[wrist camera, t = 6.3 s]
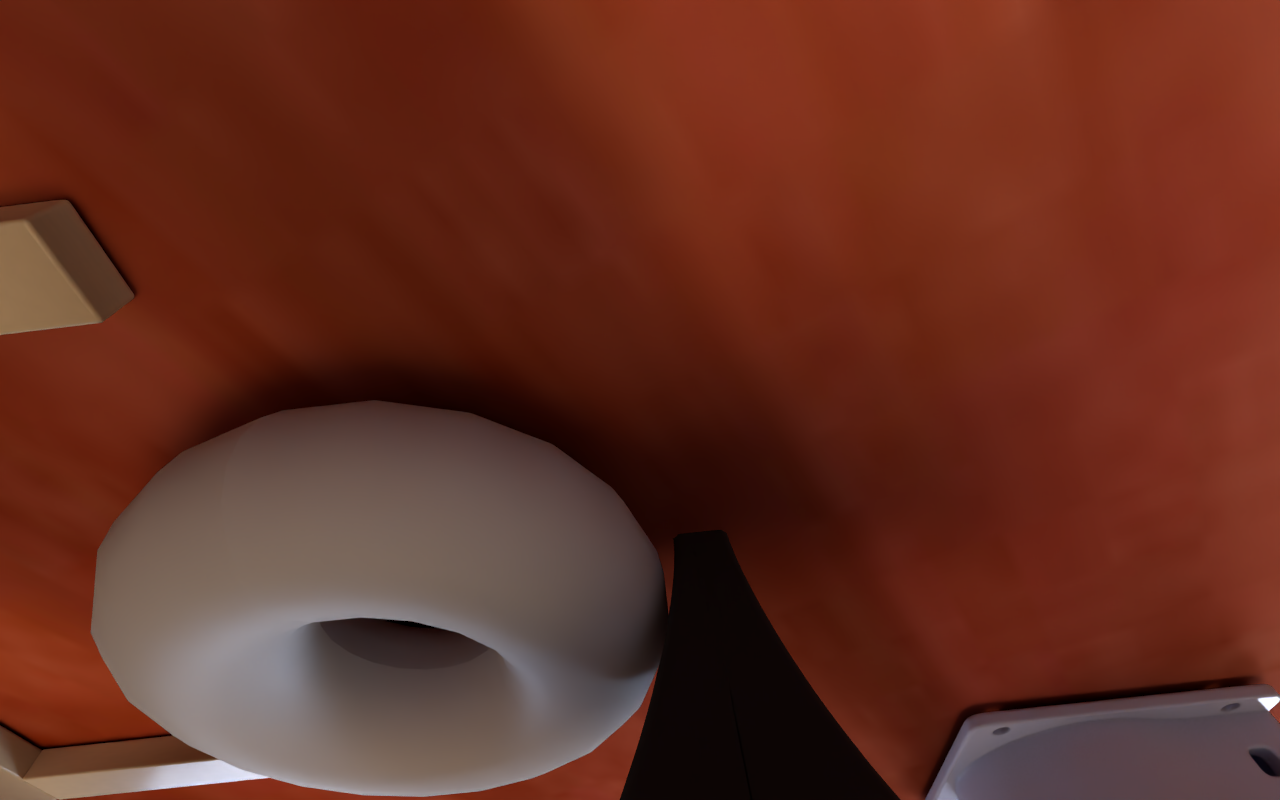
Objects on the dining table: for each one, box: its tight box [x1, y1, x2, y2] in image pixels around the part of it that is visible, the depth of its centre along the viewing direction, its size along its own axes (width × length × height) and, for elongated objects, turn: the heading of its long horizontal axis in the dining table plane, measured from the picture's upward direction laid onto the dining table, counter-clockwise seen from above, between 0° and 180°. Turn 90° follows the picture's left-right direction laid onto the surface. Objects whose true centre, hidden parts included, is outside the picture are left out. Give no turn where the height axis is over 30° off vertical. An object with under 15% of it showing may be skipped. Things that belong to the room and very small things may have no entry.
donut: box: [91, 400, 669, 797], centre depth 11 cm, size 10×4×10 cm
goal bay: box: [0, 200, 270, 800], centre depth 13 cm, size 12×16×1 cm
